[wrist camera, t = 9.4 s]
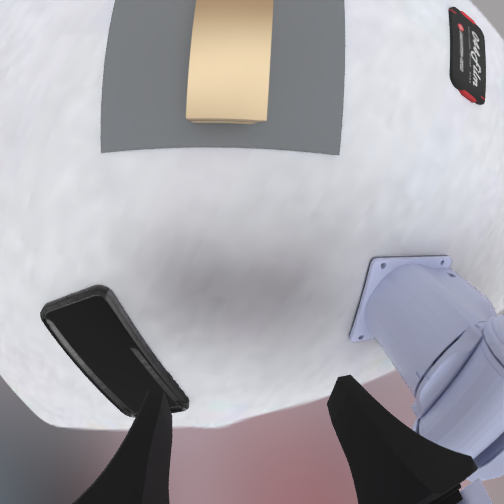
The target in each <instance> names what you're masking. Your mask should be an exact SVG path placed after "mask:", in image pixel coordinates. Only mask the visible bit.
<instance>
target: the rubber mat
mask: <svg viewBox="0 0 504 504" xmlns="http://www.w3.org/2000/svg"><path fill="white" fill-rule="evenodd" d="M195 6H196V0H115V3H114V8H113V13H112V18H111V23H110V28H109V34H108V41H107V48H106V55H105V64H104V74H103V86H102V102H101V153H105V152H115V151H126V150H139V149H155V148H178V147H239V148H263V149H279V150H292V151H304V152H314V153H323V154H332V155H339V152H340V142H341V129H342V116H343V99H344V75H345V11H344V0H273V19H272V38H271V56H270V73H269V91H268V107H267V121H263V122H258V123H253V124H231V123H193V122H191V121H190V120H188V119H186V104H187V87H188V73H189V61H190V49H191V39H192V30H193V22H194V14H195Z"/></svg>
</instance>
